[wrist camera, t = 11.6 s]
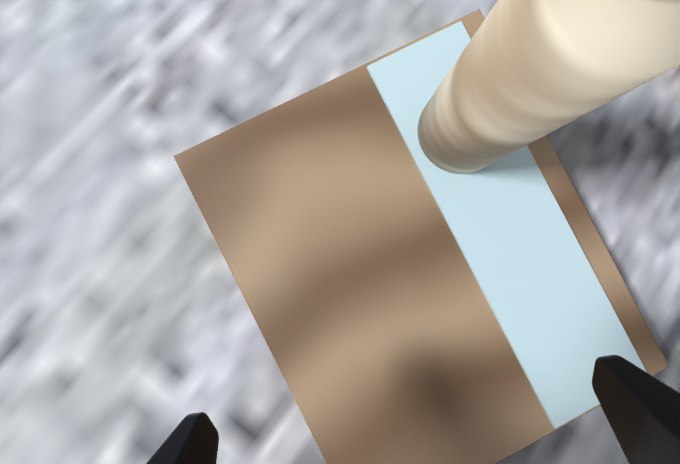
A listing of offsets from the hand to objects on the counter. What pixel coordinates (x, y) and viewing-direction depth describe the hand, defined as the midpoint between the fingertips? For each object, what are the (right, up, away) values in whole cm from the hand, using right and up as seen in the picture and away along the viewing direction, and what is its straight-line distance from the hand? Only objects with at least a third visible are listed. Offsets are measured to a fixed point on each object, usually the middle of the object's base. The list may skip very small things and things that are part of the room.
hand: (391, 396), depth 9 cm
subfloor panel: (+3, +2, +10) cm, 11 cm away
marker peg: (+4, +8, +9) cm, 13 cm away
